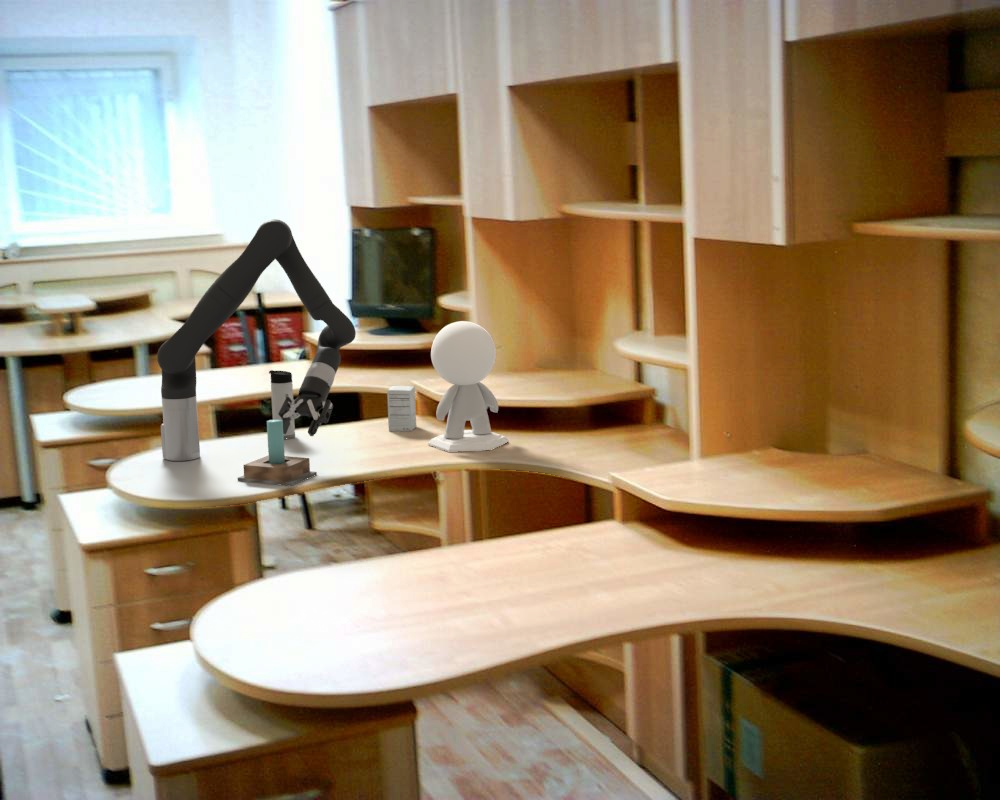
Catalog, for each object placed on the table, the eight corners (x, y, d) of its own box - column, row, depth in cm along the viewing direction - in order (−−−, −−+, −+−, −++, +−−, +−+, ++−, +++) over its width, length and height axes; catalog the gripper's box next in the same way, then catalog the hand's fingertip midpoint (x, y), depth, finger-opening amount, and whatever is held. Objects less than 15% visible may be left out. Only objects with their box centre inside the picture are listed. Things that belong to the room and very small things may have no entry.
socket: (237, 480, 319) (236, 464, 319) (264, 470, 330) (263, 454, 329) (291, 485, 313) (290, 469, 312) (316, 474, 324) (315, 458, 323)
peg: (266, 475, 321) (263, 422, 318) (275, 472, 324) (272, 419, 322) (279, 477, 319) (277, 423, 316) (288, 473, 323) (285, 420, 320)
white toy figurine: (476, 432, 372) (473, 315, 365) (520, 446, 353) (518, 322, 346) (418, 441, 361) (414, 321, 354) (459, 456, 342) (456, 328, 336)
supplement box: (393, 426, 384) (391, 385, 381) (417, 426, 383) (415, 385, 380) (387, 431, 376) (386, 389, 374) (412, 431, 375) (410, 390, 373)
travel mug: (274, 435, 374) (271, 369, 370) (296, 435, 374) (293, 368, 370) (270, 439, 368) (266, 372, 364) (292, 439, 367) (289, 372, 364)
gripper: (289, 373, 337) (267, 423, 329) (334, 376, 331) (313, 427, 323) (301, 389, 342) (279, 439, 334) (346, 392, 337) (325, 443, 329)
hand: (296, 433), depth 329 cm, fingers open, 8 cm apart
